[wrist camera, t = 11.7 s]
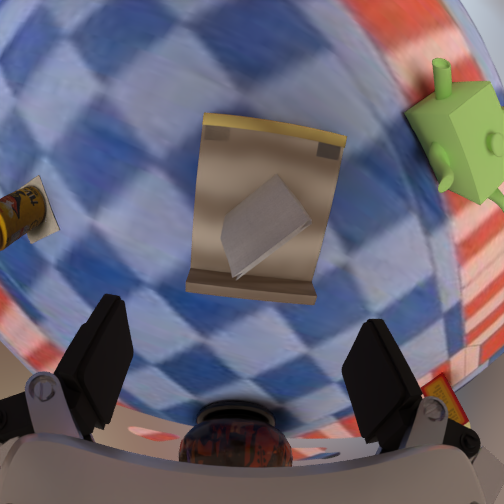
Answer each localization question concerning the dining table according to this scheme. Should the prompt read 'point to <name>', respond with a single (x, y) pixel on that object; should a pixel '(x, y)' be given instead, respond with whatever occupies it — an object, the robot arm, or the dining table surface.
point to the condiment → (26, 214)
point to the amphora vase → (236, 438)
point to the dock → (244, 184)
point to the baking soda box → (446, 398)
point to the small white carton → (261, 225)
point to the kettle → (462, 135)
